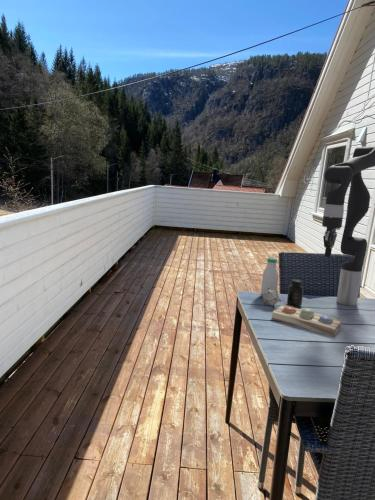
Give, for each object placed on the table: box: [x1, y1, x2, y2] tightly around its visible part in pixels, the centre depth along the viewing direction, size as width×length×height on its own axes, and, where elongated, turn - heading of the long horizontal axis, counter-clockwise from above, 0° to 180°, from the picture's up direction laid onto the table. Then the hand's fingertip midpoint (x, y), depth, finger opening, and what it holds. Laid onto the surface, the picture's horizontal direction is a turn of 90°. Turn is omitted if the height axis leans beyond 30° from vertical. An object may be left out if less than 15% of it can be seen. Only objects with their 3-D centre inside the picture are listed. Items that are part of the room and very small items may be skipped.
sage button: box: [300, 307, 315, 319], centre depth 140 cm, size 5×5×3 cm
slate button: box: [318, 314, 333, 324], centre depth 136 cm, size 5×5×3 cm
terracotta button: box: [282, 305, 296, 314], centre depth 144 cm, size 5×5×3 cm
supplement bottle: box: [286, 278, 304, 308], centre depth 161 cm, size 7×7×12 cm
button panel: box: [271, 304, 343, 337], centre depth 140 cm, size 12×25×3 cm, turn 54°
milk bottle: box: [260, 257, 279, 298], centre depth 170 cm, size 8×8×20 cm
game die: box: [259, 288, 282, 308], centre depth 158 cm, size 9×8×10 cm
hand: (327, 256), depth 143 cm, fingers closed
